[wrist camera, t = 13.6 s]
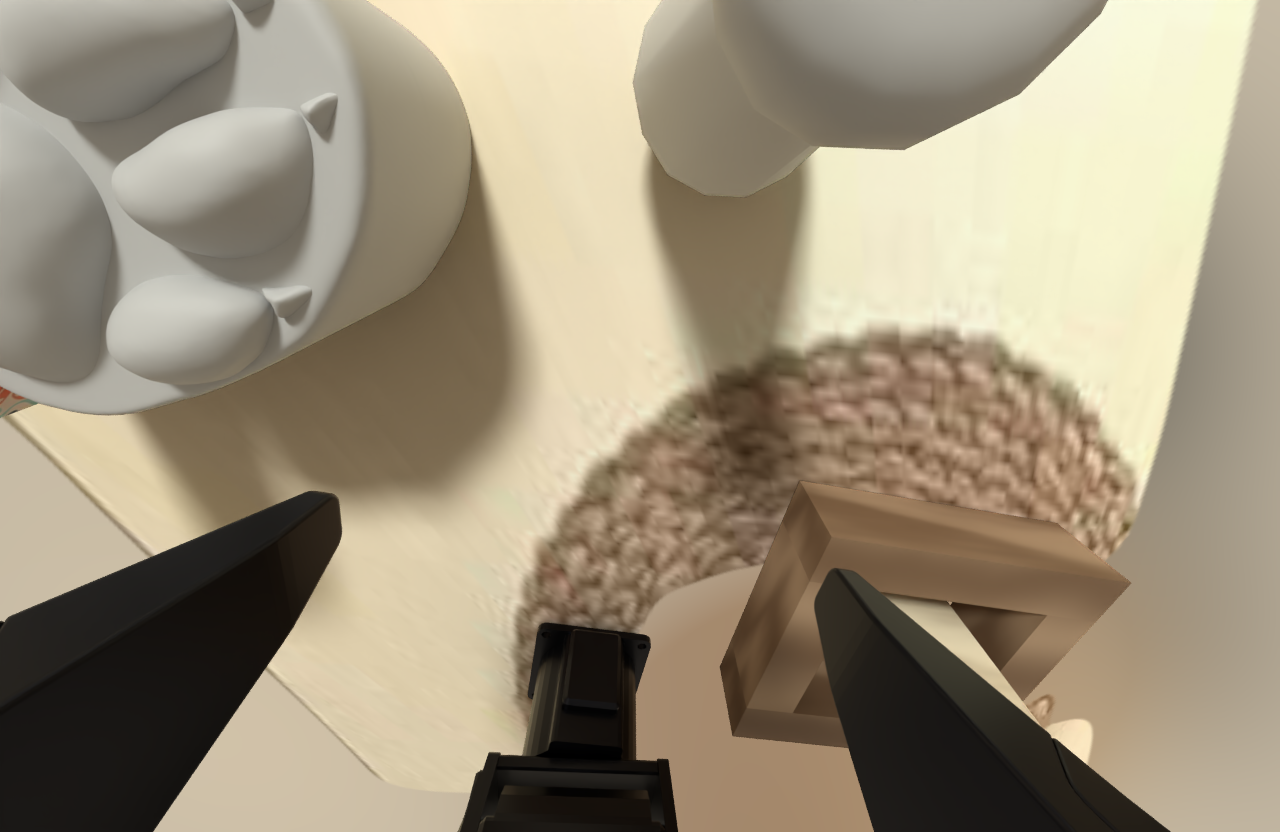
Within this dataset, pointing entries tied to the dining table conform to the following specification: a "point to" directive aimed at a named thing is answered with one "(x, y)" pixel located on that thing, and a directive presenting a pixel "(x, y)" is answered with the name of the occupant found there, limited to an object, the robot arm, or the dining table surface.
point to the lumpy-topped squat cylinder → (210, 188)
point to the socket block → (908, 565)
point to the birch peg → (955, 639)
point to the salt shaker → (829, 77)
